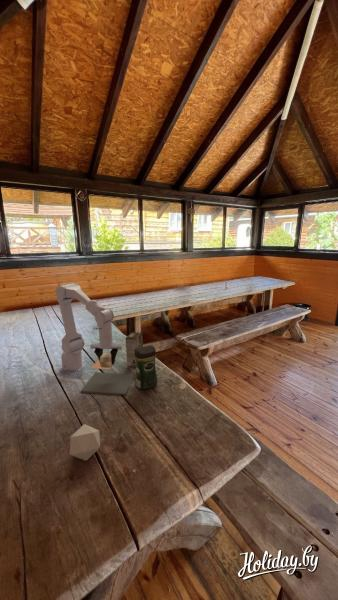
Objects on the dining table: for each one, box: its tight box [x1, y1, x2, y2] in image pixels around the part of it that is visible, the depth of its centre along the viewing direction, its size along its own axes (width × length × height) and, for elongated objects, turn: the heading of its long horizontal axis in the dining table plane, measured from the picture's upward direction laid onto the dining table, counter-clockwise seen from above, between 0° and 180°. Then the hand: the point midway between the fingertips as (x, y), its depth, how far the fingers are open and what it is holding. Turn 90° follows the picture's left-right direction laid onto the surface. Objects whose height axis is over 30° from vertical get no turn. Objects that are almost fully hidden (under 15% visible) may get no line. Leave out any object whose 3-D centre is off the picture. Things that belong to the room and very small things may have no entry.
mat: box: [80, 371, 136, 396], centre depth 113 cm, size 20×16×1 cm
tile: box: [91, 358, 116, 370], centre depth 131 cm, size 10×10×1 cm
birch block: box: [100, 352, 115, 369], centre depth 114 cm, size 5×5×5 cm
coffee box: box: [125, 331, 144, 367], centre depth 131 cm, size 9×6×16 cm
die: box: [69, 423, 101, 461], centre depth 75 cm, size 8×9×10 cm
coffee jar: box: [134, 344, 158, 390], centre depth 110 cm, size 10×8×19 cm
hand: (107, 363), depth 114 cm, fingers closed on birch block, 5 cm apart
